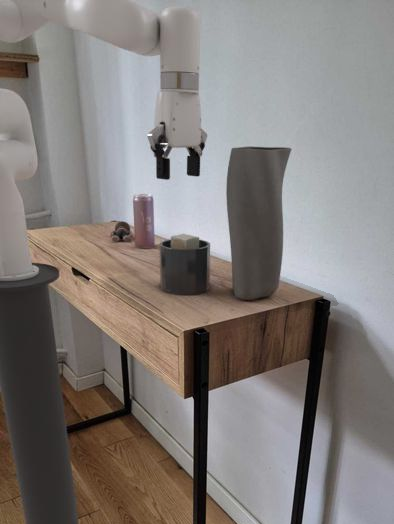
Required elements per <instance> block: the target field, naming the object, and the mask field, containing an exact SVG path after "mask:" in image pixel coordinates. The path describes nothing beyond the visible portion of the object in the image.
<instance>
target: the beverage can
mask: <svg viewBox="0 0 394 524" xmlns="http://www.w3.org/2000/svg"><path fill="white" fill-rule="evenodd" d="M132 197H133V198H132V209H133V232H134V233H135V236H134V245H135V247H136V248H138V249H151V248H154V247H155V244H156V242H155V240H156V239H155V237H156V236H155V207H154V206H155V205H154V197H153V194H149V193H137V194H133V196H132Z"/></svg>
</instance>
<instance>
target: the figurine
mask: <svg viewBox="0 0 394 524" xmlns="http://www.w3.org/2000/svg"><path fill="white" fill-rule="evenodd" d="M108 238H111V240H112V242H114V243H118V242H120V240H121V241H122V240H123V241H124V242H126V243H128V242H130V241H131V238H135V233H134V231H131V225H130V224H129V223H128V222H126V221H118V222H117V223H116V224H115V227H114V230H113V231H110V232H108Z"/></svg>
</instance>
